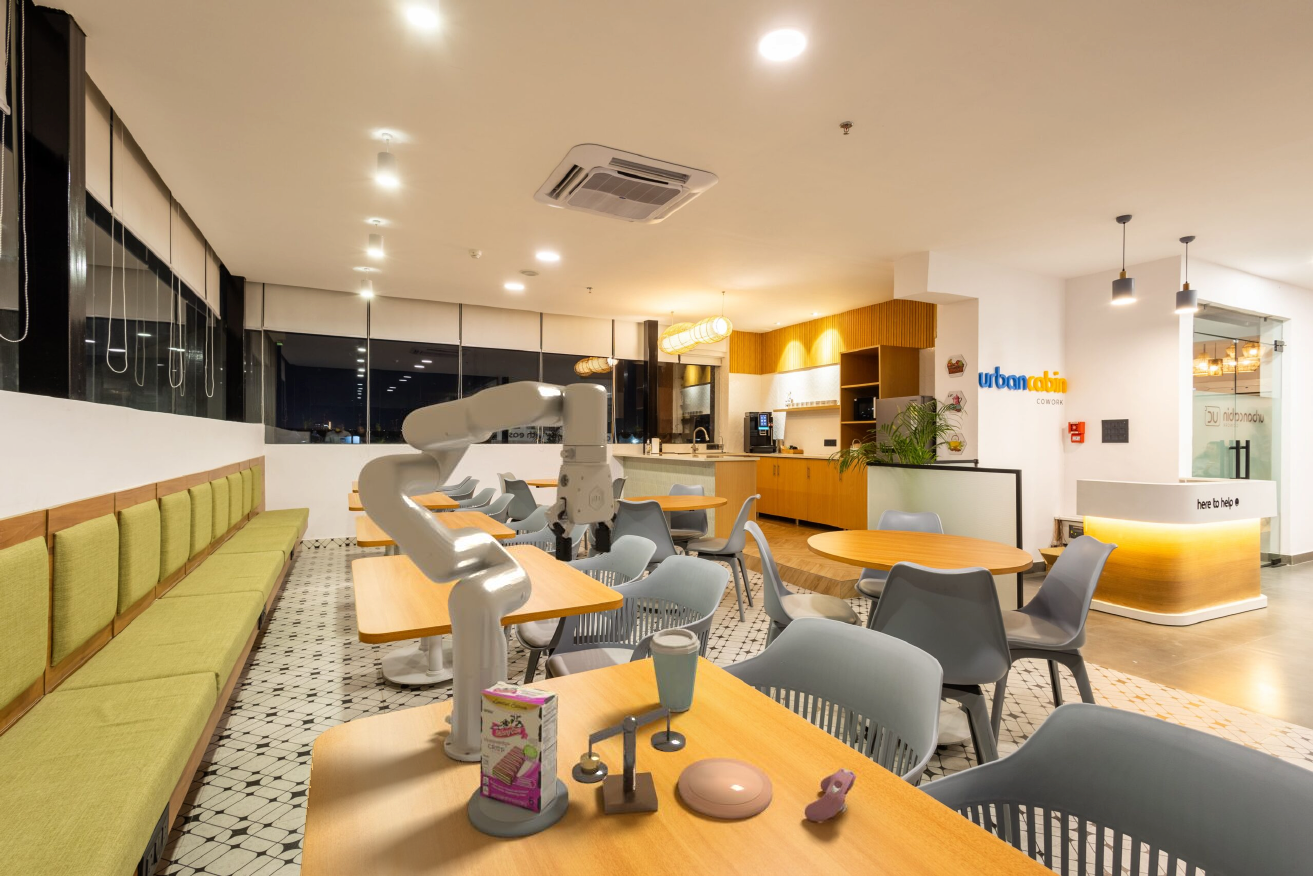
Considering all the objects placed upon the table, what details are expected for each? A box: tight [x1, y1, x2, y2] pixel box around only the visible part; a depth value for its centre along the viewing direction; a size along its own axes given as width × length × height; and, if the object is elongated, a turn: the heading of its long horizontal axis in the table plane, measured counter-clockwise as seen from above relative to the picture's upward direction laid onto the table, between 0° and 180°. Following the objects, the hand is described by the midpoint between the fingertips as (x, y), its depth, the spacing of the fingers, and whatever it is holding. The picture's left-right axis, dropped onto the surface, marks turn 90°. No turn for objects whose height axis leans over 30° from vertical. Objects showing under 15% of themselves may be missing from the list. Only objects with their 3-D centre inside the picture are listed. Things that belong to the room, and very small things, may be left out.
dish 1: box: [467, 777, 570, 839], centre depth 95 cm, size 15×15×1 cm
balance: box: [571, 705, 687, 816], centre depth 98 cm, size 18×8×14 cm, turn 98°
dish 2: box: [678, 757, 773, 820], centre depth 100 cm, size 15×15×1 cm
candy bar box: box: [479, 681, 559, 813], centre depth 95 cm, size 11×5×16 cm, turn 68°
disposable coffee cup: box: [649, 627, 701, 713], centre depth 130 cm, size 11×11×15 cm
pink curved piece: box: [804, 767, 857, 823], centre depth 95 cm, size 10×5×7 cm, turn 149°
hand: (583, 556), depth 106 cm, fingers open, 9 cm apart
